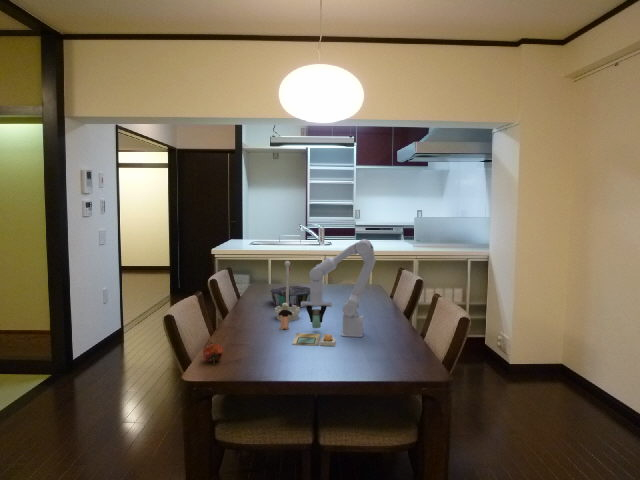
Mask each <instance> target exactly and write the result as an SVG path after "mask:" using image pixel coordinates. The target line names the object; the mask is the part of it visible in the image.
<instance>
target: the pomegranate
mask: <svg viewBox="0 0 640 480" xmlns="http://www.w3.org/2000/svg"><path fill="white" fill-rule="evenodd" d="M202 352H203V355H202V356H203V358H204V360H205V361H206V362H208V363H210V362H213V365H214V366H215V365H216V364H215V362H217V361H220V360H221V359H222V357H223V355H224V349H223V347H222V346H221V345H220V344H219V343H215V342H214V343H213V342H212V341H211V342H210V344H208V345H206V346H205V347H204V349H203V351H202Z"/></svg>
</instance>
